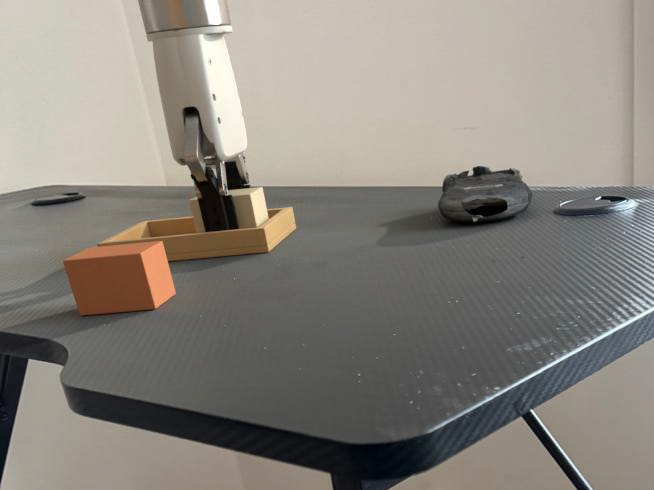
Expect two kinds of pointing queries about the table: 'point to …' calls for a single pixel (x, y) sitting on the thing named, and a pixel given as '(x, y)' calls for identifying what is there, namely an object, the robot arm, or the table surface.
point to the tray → (208, 236)
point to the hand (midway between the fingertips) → (234, 233)
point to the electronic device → (484, 195)
